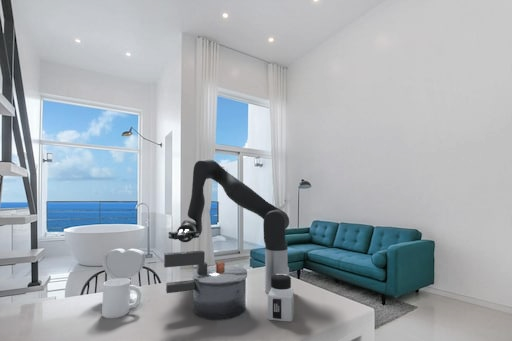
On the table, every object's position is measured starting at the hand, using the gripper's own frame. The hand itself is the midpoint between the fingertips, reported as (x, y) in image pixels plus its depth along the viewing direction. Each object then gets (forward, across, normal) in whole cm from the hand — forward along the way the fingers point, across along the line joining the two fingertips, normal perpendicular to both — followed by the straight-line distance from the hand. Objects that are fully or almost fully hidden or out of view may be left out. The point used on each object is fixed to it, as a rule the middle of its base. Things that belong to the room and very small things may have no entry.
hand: (180, 237), depth 108 cm
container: (+16, +35, +25) cm, 46 cm away
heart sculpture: (-7, -23, +23) cm, 33 cm away
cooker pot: (+10, +10, +24) cm, 28 cm away
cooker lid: (+10, +10, +13) cm, 19 cm away
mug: (+10, -18, +23) cm, 31 cm away
